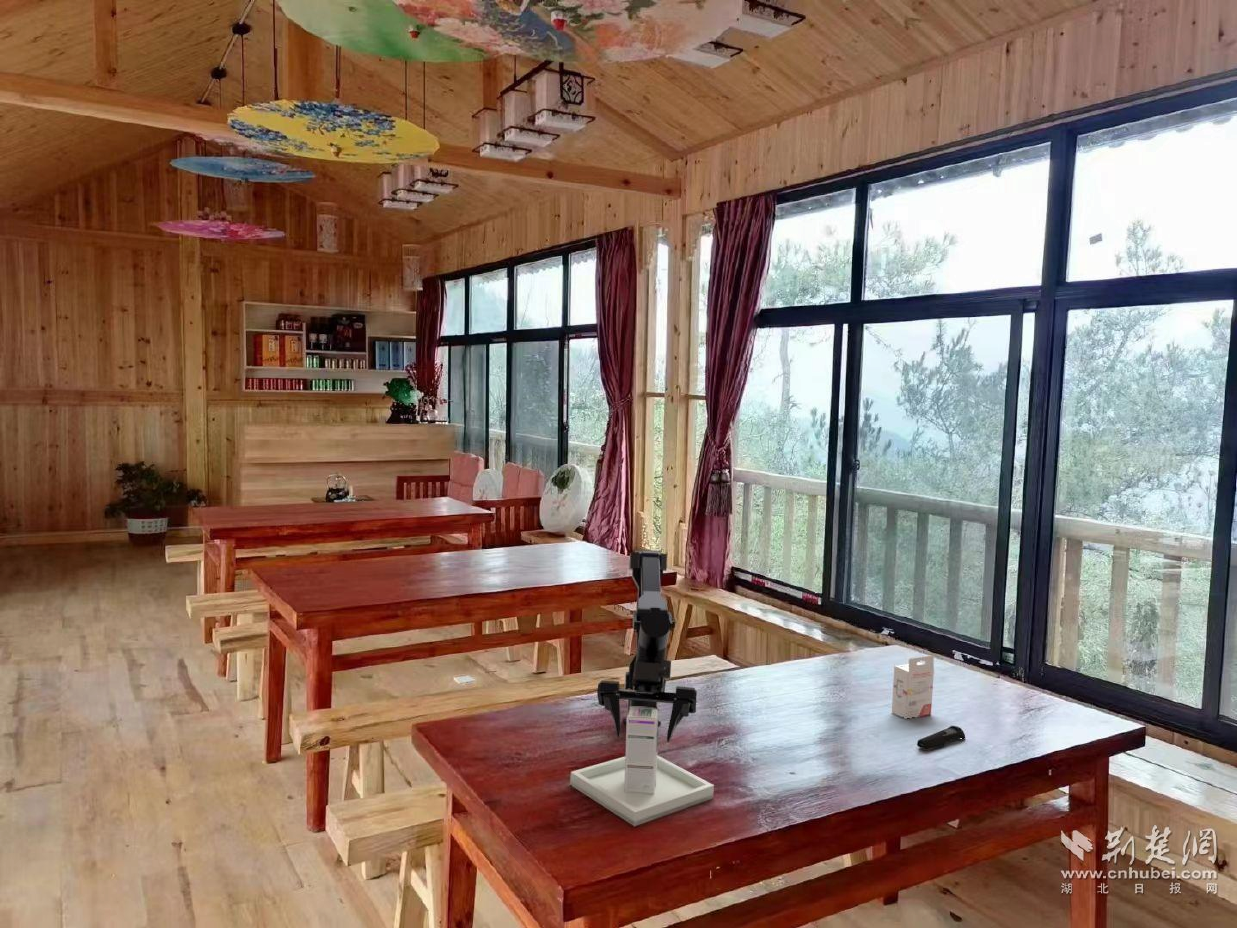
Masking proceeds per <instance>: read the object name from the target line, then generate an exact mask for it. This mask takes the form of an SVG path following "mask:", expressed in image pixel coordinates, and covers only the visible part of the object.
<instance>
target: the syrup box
mask: <svg viewBox="0 0 1237 928" xmlns="http://www.w3.org/2000/svg"><path fill="white" fill-rule="evenodd" d="M626 714H627V715H626V718H627V723H626V726H625V728H626V729H625V730H626V732H625V753H624V754H625V755H624V757H625V788H624V790H625V791H626V792H632V793H643V794H654V792H655V787H656V773H657V755H658V743H659V742H658V741H659V740H658V739H659V732H658V731H659V725H658V721H659V708H658V707H657V708H654V707H646V706H630V707H629V711H628V710H627V713H626Z"/></svg>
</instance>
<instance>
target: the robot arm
mask: <svg viewBox="0 0 1237 928" xmlns="http://www.w3.org/2000/svg"><path fill="white" fill-rule="evenodd" d="M667 566H668V554H667V553H662V550H655V549H654V550H652V549H651V550H650V549H649V550H648V549H635V550H634V552H630V553H629V566H628V567H629V570H631V579H632V581H633V582H634V584H635V586H636V587H637V600H636V608H635V609H636V610H633V611H632V612H633V613H632V629H633V630H635V633H636V640H635V641H636V643H635V654H634V656H633V657H632V659H631V661H630V662H629V665H628V671H625V676H624V688H621V687H620V681H617V680H616V681H614V680H605V679H604V680H600V681H599V682H598V685H597V693H596V694H597V701H598V705H599V706H601V707H604V710H606V711H610V713H611V716H612V719H613V722H614V728H615V732H616V738H617V739H620V738H621V722H622V723H625V724H627V717H624V718H622V719H621V703H620V702H621V701H620V700H626V701H628V703H627V705H628V706H627V712H628V711H629V707H630V706H646V707H654V708H658V703H665V704H672V707H671V713H670V718H669V723H668V728H667V733H666V734H667V736H666V743H668V744H669V743H670V742H671V739H672V737H673V735H674V733H675V730H676V729H677V728H678V726H679V724H680V723H681V720H682V719H683V718H685V717H689V716H690V714H695V713H696V712H697V711H696V710H697V695H698V694H697V690H696V688H695V687H689V686H688V687H687V686H676V688H675V692H668V691H667V692H666V686H667V685H666V684H667V680H666V679H671V672H672V661H671V660H667V659H666V658H667V657H666V656H667V646H668V643H669V637H670V632H672V631H673V629H675V628H676V627H675V626H676V622H675V618H674V617H673V616H672V612H671V611H669V609H668V608H669V607H668V601H667V600H666V598H664V597H663V596H662V589H661V587H662V586H661V580H662V578H663V577H664V572H666V571H667V570H668V567H667ZM621 720H622V721H621ZM660 725H662V721H659V720H658V726H660Z"/></svg>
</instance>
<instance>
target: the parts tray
mask: <svg viewBox="0 0 1237 928" xmlns="http://www.w3.org/2000/svg"><path fill="white" fill-rule="evenodd" d="M569 781H570V782H569V786H571V785H572V786H571V787H573V788H574V789H575V790H577V791H579V792H580V793H582V794H583V795H585V796H586V797H589V798H590V799H592V800H593V801H595V802H596V803H598V804H599V805H601V806H603V807H604V808H606V809H607V810H608V811H610V812H611V813H613V814H614V815H616V816H618V817H620V818H621V819H623V820H624V821H625V822H627V823H628V824H630V825H631V826H633V827H636V826H640V825H642V824H645V823H647V822H648V823H649V822H651V821H653V820H657V819H659V818H662V817H664V816H668V815H671V814H673V813H676V812H679V811H681V810H684V809H687V808H690V807H693V806H695V805H698V804H701V803H704V802H707V801H709V800H712V799H714V792H715V791H714V789H715V785H714V784H713V783H711V782H709V781H707V780H705V779H703V778H701V777H699V776H697V775H695V774H694V773H691V772H690V771H689V770H686V769H684V768H682V767H680V766H678V765H677V764H675V763H673V762H671V761H669V760H668V759H665V758H663V757H662V756H660V755H658V754H657V773H656V787H655V792H654V794H643V793H632V792H626V791H625V790H624V788H625V756H621V757H618V758H615V759H611V760H608V761H604V762H601V763H598V764H594V765H589V766H586V767H584V768H580V769H576V770H573V771H571V772H570V779H569Z"/></svg>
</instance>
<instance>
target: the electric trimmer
mask: <svg viewBox="0 0 1237 928" xmlns="http://www.w3.org/2000/svg"><path fill="white" fill-rule="evenodd" d="M959 738H962V739H964V740H965V738H966V733H964V731H963V729H962V728H961V727H959V726H956V725H950V726H949V727H947V728H945V729H942V730H939V731H937V732H935V733H932V734H931V735H927V736H925V737H922V738H920V739H918V740H917V743H916V746H917V747H918V748H920V749H923V750H926V751H927V750H928V751H929V750H932V749H933V750H934V749H937V748H943V747H945V746H946V744H949V743H952V742H955V741H957V739H958V740H960V739H959ZM954 740H955V741H954ZM951 741H952V742H951ZM948 742H949V743H948Z"/></svg>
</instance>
